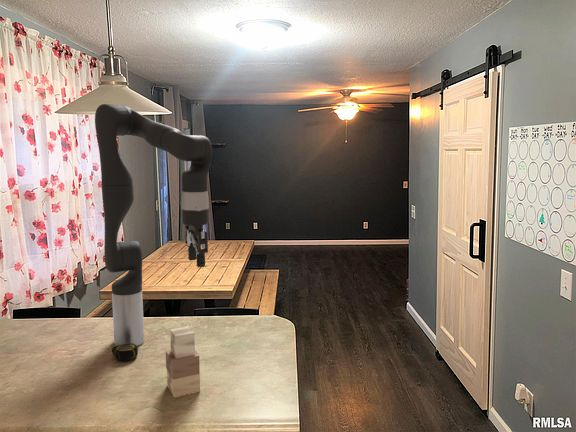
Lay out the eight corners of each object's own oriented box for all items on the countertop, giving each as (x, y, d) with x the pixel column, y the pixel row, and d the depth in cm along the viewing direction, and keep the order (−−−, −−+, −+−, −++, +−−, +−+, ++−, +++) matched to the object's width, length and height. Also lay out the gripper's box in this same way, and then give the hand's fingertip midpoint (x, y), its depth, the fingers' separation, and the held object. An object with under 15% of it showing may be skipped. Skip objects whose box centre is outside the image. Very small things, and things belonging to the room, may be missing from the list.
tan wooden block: (167, 385, 133) (166, 368, 132) (192, 380, 136) (192, 363, 136) (173, 398, 127) (173, 379, 126) (200, 391, 130) (199, 374, 129)
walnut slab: (166, 368, 133) (165, 350, 132) (191, 362, 136) (191, 345, 135) (173, 379, 126) (172, 360, 126) (199, 373, 130) (199, 355, 129)
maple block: (170, 351, 131) (170, 329, 130) (189, 347, 134) (188, 326, 133) (176, 358, 127) (175, 336, 126) (195, 354, 129) (194, 332, 128)
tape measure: (134, 351, 154) (134, 340, 154) (140, 360, 149) (140, 348, 148) (112, 356, 151) (111, 344, 150) (117, 365, 145) (116, 353, 145)
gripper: (175, 204, 144) (177, 259, 147) (189, 211, 132) (190, 270, 134) (200, 203, 148) (202, 256, 150) (216, 209, 135) (217, 267, 138)
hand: (196, 263), depth 142 cm, fingers open, 8 cm apart
